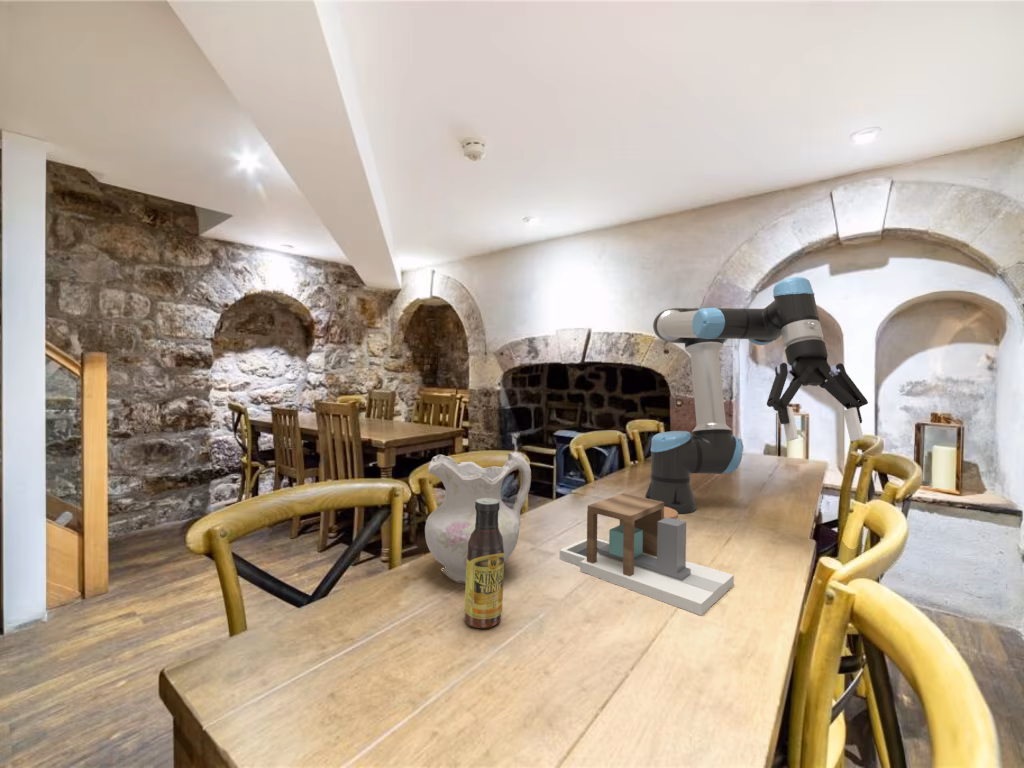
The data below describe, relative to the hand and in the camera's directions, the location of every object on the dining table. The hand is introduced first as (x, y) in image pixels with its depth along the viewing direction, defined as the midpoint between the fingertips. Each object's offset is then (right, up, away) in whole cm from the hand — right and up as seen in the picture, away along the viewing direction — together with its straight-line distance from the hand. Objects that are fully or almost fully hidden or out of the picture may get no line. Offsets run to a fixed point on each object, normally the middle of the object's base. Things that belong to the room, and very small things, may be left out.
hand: (824, 439), depth 94 cm
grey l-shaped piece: (-38, -25, 0) cm, 46 cm away
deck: (-38, -28, 0) cm, 47 cm away
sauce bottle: (-69, -28, -18) cm, 77 cm away
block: (-40, -24, +2) cm, 47 cm away
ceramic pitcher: (-72, -28, +1) cm, 77 cm away
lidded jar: (-29, -28, +18) cm, 44 cm away
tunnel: (-40, -25, +2) cm, 48 cm away
